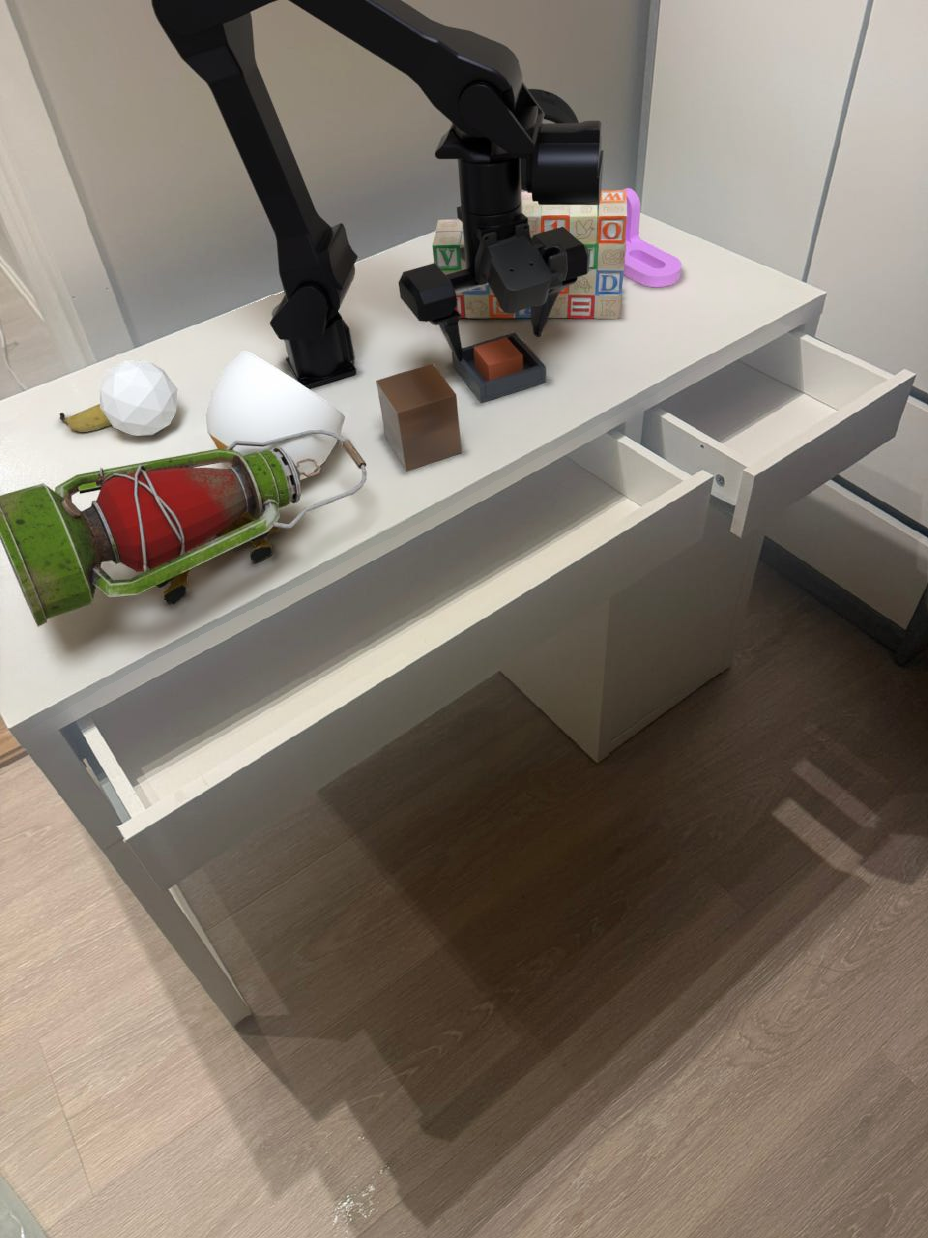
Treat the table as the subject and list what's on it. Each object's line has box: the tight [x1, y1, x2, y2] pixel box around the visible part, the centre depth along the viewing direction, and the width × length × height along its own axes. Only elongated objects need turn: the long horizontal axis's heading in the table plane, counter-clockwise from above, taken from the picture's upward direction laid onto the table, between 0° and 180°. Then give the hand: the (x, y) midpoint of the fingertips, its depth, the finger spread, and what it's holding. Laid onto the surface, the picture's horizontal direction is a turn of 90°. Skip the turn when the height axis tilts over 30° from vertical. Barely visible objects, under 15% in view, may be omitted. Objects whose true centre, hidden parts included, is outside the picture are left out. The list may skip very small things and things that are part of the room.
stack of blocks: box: [432, 189, 627, 320], centre depth 105 cm, size 21×6×12 cm, turn 84°
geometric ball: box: [99, 359, 178, 437], centre depth 96 cm, size 8×8×8 cm
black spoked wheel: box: [521, 88, 580, 192], centre depth 119 cm, size 14×14×10 cm
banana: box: [59, 403, 112, 433], centre depth 99 cm, size 10×2×4 cm
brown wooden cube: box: [375, 362, 462, 472], centre depth 91 cm, size 6×6×7 cm
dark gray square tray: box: [451, 331, 547, 404], centre depth 100 cm, size 8×8×2 cm
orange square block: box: [473, 337, 523, 382], centre depth 99 cm, size 4×4×2 cm
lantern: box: [0, 430, 368, 628], centre depth 77 cm, size 14×11×30 cm
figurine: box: [153, 512, 281, 605], centre depth 84 cm, size 15×6×13 cm
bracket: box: [622, 187, 682, 288], centre depth 111 cm, size 13×6×7 cm, turn 36°
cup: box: [205, 349, 346, 481], centre depth 88 cm, size 12×12×10 cm
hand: (498, 347), depth 98 cm, fingers open, 9 cm apart
